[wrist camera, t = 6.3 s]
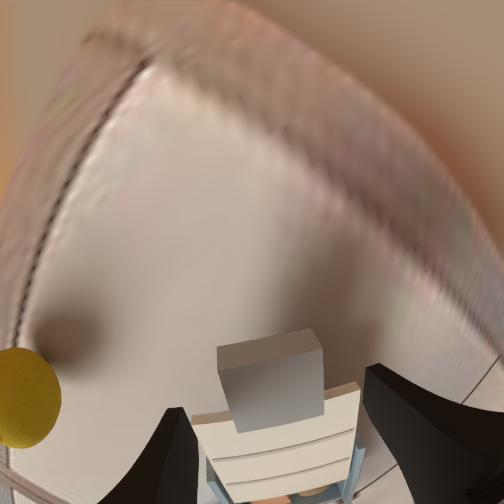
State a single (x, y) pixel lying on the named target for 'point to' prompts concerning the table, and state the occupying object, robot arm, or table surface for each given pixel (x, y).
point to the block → (274, 500)
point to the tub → (333, 493)
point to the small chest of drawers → (278, 419)
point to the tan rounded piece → (314, 491)
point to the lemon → (27, 398)
